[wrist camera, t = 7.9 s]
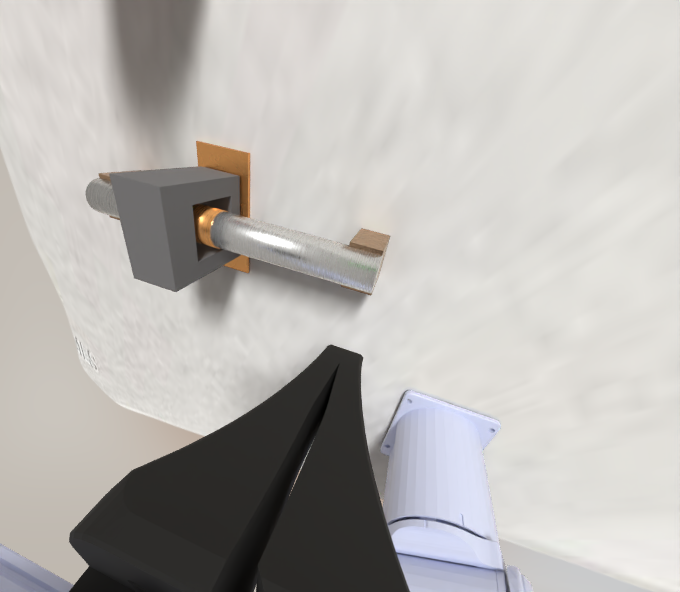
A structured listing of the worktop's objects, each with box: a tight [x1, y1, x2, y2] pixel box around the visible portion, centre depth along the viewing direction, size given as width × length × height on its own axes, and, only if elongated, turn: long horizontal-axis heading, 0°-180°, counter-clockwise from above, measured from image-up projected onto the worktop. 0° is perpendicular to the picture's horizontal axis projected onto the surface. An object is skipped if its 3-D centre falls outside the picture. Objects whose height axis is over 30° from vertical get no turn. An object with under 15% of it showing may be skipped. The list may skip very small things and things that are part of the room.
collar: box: [109, 166, 241, 292], centre depth 18 cm, size 3×6×7 cm, turn 169°
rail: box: [86, 141, 390, 295], centre depth 19 cm, size 20×9×4 cm, turn 79°
